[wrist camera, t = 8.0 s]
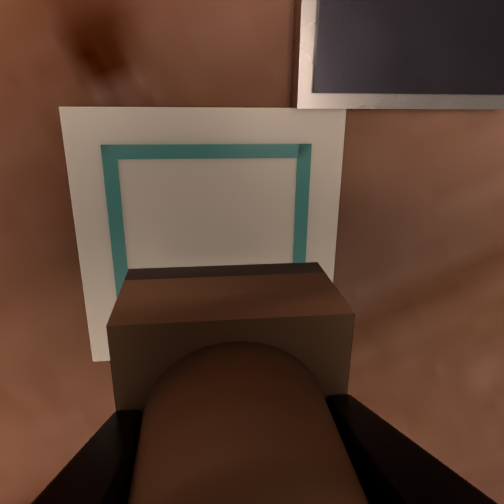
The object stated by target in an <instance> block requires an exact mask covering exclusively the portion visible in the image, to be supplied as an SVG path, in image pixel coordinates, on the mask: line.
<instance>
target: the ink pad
mask: <svg viewBox="0 0 504 504" xmlns="http://www.w3.org/2000/svg"><path fill="white" fill-rule="evenodd" d="M291 108H297V109H487V110H504V0H295V16H294V44H293V72H292V99H291Z"/></svg>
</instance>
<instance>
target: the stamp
mask: <svg viewBox="0 0 504 504" xmlns="http://www.w3.org/2000/svg"><path fill="white" fill-rule="evenodd" d="M354 318H355V313H354V312H353V310H352V309H351V307H350V306H349V305H348V303H347V302H346V301H345V299H344V298H343V296H342V295H341V294H340V292H339V291H338V289H337V288H336V287H335V285H334V284H333V283H332V281H331V280H330V278H329V277H328V276H327V274H326V273H325V272H324V270H323V269H322V267H321V266H320V265H319V263H318V262H304V263H277V264H249V265H221V266H193V267H165V268H138V269H128V272H127V274H126V277H125V279H124V282H123V284H122V287H121V289H120V292H119V295H118V297H117V300H116V302H115V305H114V307H113V310H112V312H111V315H110V317H109V320H108V322H107V325H106V330H107V338H108V347H109V355H110V364H111V372H112V380H113V389H114V397H115V406H116V411H118V410H127V409H139V410H140V411H141V413H142V421H141V427H140V432H139V438H138V444H137V450H136V456H135V462H134V468H133V474H132V479H131V485H130V491H129V497H128V503H127V504H369V503H368V500H367V498H366V496H365V493H364V491H363V488H362V486H361V484H360V481H359V479H358V477H357V474H356V472H355V469H354V467H353V465H352V462H351V460H350V458H349V455H348V453H347V451H346V448H345V446H344V443H343V441H342V439H341V436H340V434H339V432H338V429H337V427H336V424H335V422H334V420H333V417H332V415H331V413H330V410H329V408H328V405H327V403H326V401H325V399H326V397H327V396H328V395H336V394H347V391H348V380H349V370H350V360H351V349H352V339H353V329H354Z"/></svg>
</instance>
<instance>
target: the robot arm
mask: <svg viewBox="0 0 504 504" xmlns="http://www.w3.org/2000/svg"><path fill="white" fill-rule="evenodd" d="M325 401H326V403H327V405H328V408H329V410H330V413H331V415H332V417H333V420H334V422H335V424H336V427H337V429H338V432H339V434H340V436H341V439H342V441H343V443H344V446H345V448H346V451H347V453H348V455H349V458H350V460H351V462H352V465H353V467H354V469H355V472H356V474H357V477H358V479H359V481H360V484H361V486H362V488H363V491H364V493H365V496H366V498H367V500H368V503H369V504H497V503H496V502H495V501H493V500H492V499H491V498H489V497H488V496H487V495H485V494H484V493H483V492H481V491H480V490H478V489H477V488H476V487H474V486H473V485H472V484H470V483H469V482H468V481H466V480H465V479H464V478H462V477H461V476H459V475H458V474H457V473H455V472H454V471H453V470H451V469H450V468H449V467H447V466H446V465H445V464H443V463H442V462H440V461H439V460H438V459H436V458H435V457H434V456H432V455H431V454H430V453H428V452H427V451H426V450H424V449H423V448H421V447H420V446H419V445H417V444H416V443H415V442H413V441H412V440H411V439H409V438H408V437H407V436H405V435H404V434H403V433H401V432H400V431H398V430H397V429H396V428H394V427H393V426H392V425H390V424H389V423H388V422H386V421H385V420H384V419H382V418H381V417H379V416H378V415H377V414H375V413H374V412H373V411H371V410H370V409H369V408H367V407H366V406H365V405H363V404H362V403H360V402H359V401H358V400H356V399H355V398H354V397H352V396H351V395H349V394H336V395H328V396H327V397H326V399H325ZM141 421H142V413H141V411H140V410H139V409H127V410H118V411H116V412H114V413H113V414H112V416H111V417H110V418H109V419H108V420H107V421H106V422H105V423H104V424H103V425H102V426H101V428H100V429H99V430H98V431H97V432H96V433H95V434H94V435H93V436H92V437H91V438H90V440H89V441H88V442H87V443H86V444H85V445H84V446H83V447H82V448H81V449H80V451H79V452H78V453H77V454H76V455H75V456H74V457H73V458H72V459H71V460H70V461H69V463H68V464H67V465H66V466H65V467H64V468H63V469H62V470H61V471H60V472H59V474H58V475H57V476H56V477H55V478H54V479H53V480H52V481H51V482H50V483H49V484H48V486H47V487H46V488H45V489H44V490H43V491H42V492H41V493H40V494H39V495H38V497H37V498H36V499H35V500H34V501H33V502H32V503H31V504H127V503H128V497H129V491H130V485H131V479H132V474H133V468H134V462H135V456H136V450H137V444H138V438H139V432H140V427H141Z"/></svg>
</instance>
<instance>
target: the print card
mask: <svg viewBox="0 0 504 504" xmlns="http://www.w3.org/2000/svg"><path fill="white" fill-rule="evenodd" d="M59 112H60V120H61V127H62V135H63V142H64V150H65V157H66V165H67V172H68V180H69V187H70V195H71V202H72V210H73V217H74V225H75V232H76V240H77V247H78V255H79V262H80V270H81V277H82V285H83V292H84V300H85V307H86V315H87V322H88V330H89V337H90V345H91V352H92V360H93V362H95V361H110V355H109V347H108V338H107V330H106V325H107V322H108V320H109V317H110V315H111V312H112V310H113V307H114V305H115V302H116V300H117V297H118V295H119V292H120V289H121V287H122V284H123V282H124V279H125V277H126V274H127V272H128V269H138V268H165V267H193V266H221V265H249V264H277V263H304V262H318V263H319V265H320V266H321V267H322V269H323V270H324V272H325V273H326V274H327V276H328V277H329V278H330V280H331V281H332V283H333V277H334V264H335V251H336V238H337V225H338V212H339V199H340V186H341V173H342V160H343V147H344V134H345V120H346V109H297V108H245V107H59Z"/></svg>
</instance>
